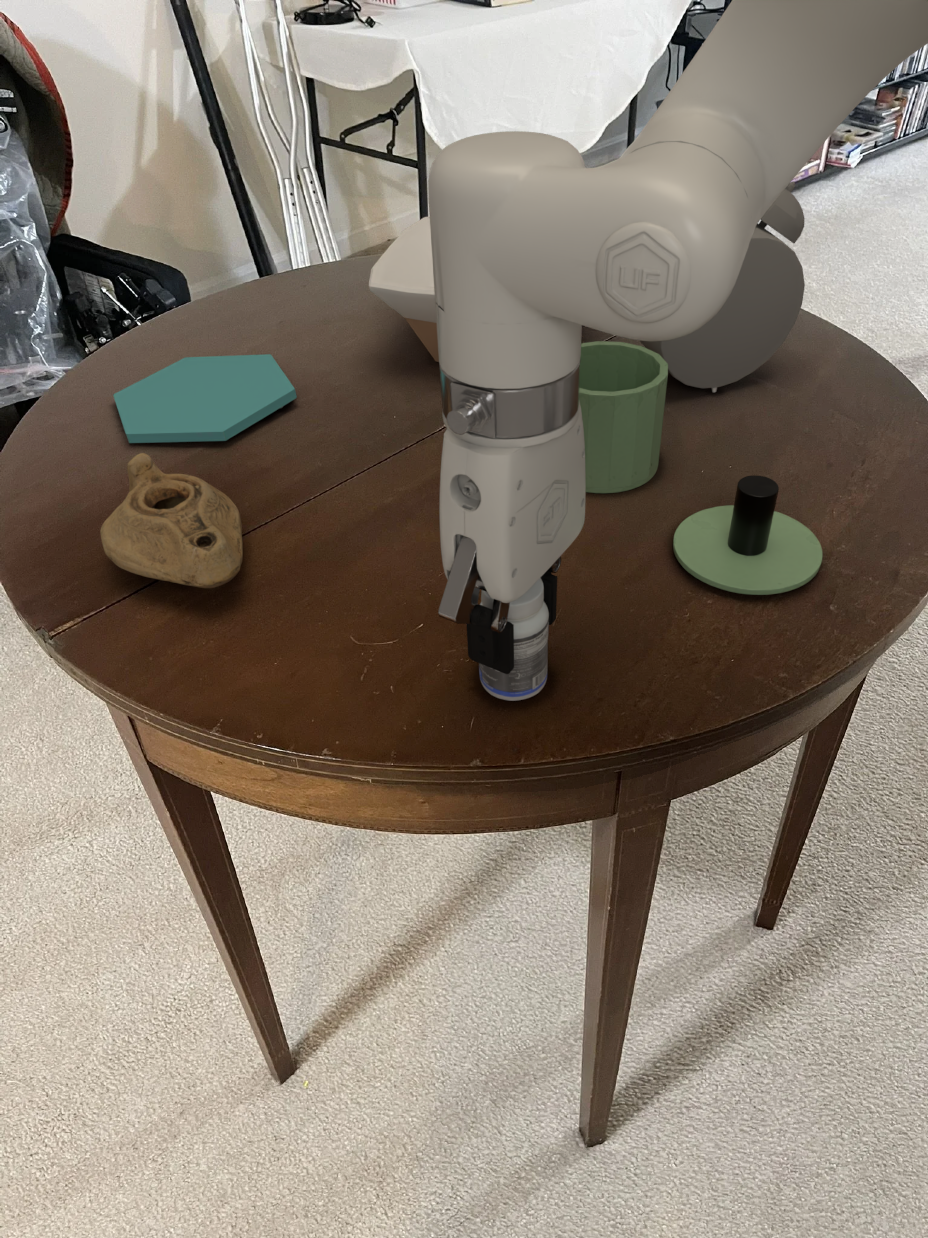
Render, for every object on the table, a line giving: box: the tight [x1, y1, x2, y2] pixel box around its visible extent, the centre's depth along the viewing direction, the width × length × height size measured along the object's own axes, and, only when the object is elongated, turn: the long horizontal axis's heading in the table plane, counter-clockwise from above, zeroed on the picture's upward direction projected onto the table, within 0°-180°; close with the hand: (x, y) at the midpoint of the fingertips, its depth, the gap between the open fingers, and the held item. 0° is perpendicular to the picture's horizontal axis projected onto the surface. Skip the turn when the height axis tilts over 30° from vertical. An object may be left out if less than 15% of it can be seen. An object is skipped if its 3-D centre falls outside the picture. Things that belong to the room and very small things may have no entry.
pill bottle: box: [478, 578, 550, 702], centre depth 62 cm, size 5×5×8 cm
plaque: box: [112, 353, 298, 444], centre depth 98 cm, size 18×2×20 cm
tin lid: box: [672, 474, 824, 596], centre depth 72 cm, size 11×11×7 cm
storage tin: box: [579, 340, 669, 494], centre depth 83 cm, size 10×10×10 cm
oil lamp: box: [99, 452, 244, 589], centre depth 74 cm, size 11×15×8 cm
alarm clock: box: [638, 181, 806, 393], centre depth 90 cm, size 16×9×22 cm, turn 108°
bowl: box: [368, 216, 439, 363], centre depth 103 cm, size 24×25×11 cm
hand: (513, 637), depth 62 cm, fingers closed on pill bottle, 4 cm apart
